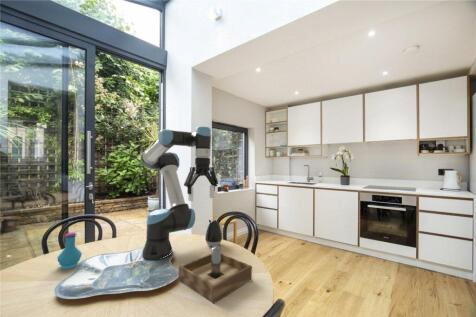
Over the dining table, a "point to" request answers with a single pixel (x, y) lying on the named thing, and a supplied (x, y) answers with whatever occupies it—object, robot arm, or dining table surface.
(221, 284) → the box
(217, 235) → the pump dispenser
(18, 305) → the dining table surface
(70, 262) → the perfume bottle
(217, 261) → the peg
